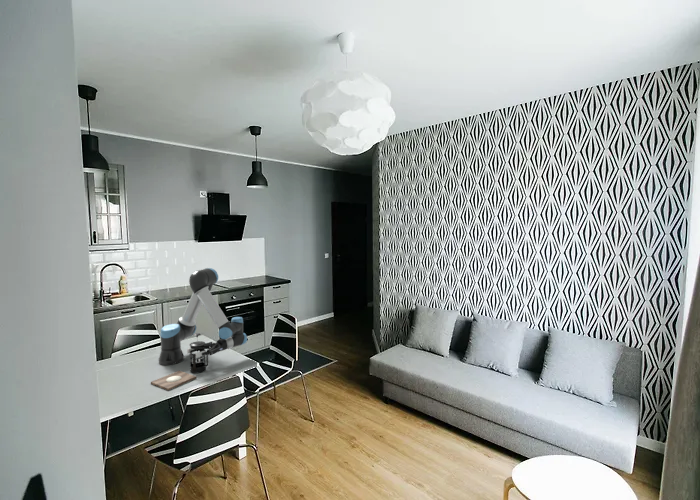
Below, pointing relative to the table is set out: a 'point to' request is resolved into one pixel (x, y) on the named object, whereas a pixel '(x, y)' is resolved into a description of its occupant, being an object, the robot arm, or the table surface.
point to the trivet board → (173, 380)
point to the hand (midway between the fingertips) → (191, 353)
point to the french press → (198, 363)
